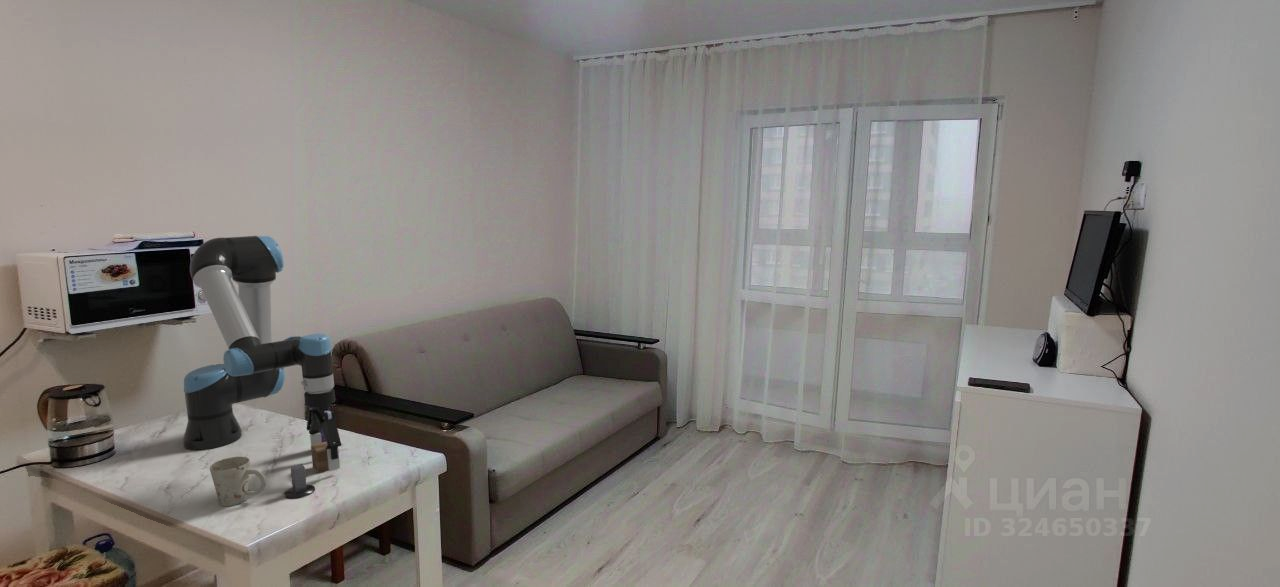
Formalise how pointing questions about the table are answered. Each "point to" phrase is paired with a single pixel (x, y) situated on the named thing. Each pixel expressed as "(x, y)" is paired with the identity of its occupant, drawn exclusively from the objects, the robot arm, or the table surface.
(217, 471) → the mug
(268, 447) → the table surface
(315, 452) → the brown shipping carton
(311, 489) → the post
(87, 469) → the table surface
